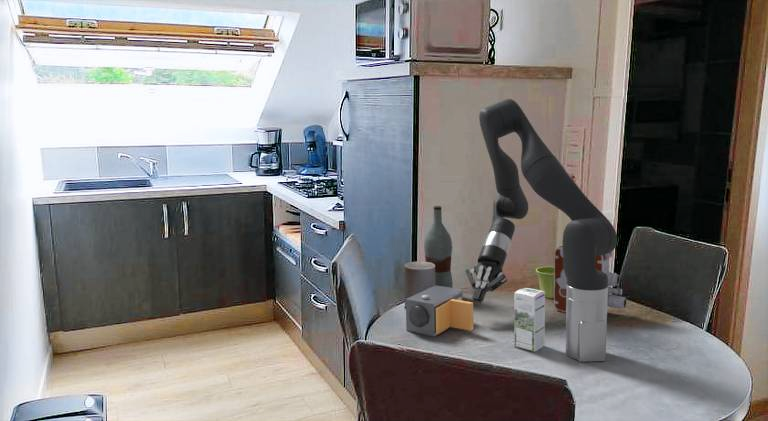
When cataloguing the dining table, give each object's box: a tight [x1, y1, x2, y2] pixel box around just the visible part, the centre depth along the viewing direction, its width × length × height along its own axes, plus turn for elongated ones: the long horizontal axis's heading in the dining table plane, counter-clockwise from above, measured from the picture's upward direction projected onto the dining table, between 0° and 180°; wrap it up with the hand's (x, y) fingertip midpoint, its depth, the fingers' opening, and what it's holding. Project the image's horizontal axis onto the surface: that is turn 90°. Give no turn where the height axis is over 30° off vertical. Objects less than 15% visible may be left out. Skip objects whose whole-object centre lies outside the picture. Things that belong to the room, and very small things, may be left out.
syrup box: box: [513, 287, 546, 353], centre depth 142 cm, size 6×6×14 cm
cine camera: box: [553, 244, 628, 313], centre depth 165 cm, size 9×19×20 cm, turn 53°
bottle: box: [423, 205, 454, 288], centre depth 186 cm, size 9×9×30 cm
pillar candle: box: [403, 260, 435, 310], centre depth 175 cm, size 10×10×15 cm
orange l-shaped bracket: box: [436, 299, 474, 335], centre depth 152 cm, size 8×7×8 cm
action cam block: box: [405, 285, 464, 338], centre depth 159 cm, size 17×9×10 cm, turn 145°
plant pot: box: [535, 266, 554, 299], centre depth 184 cm, size 9×9×9 cm
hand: (476, 301), depth 159 cm, fingers closed
